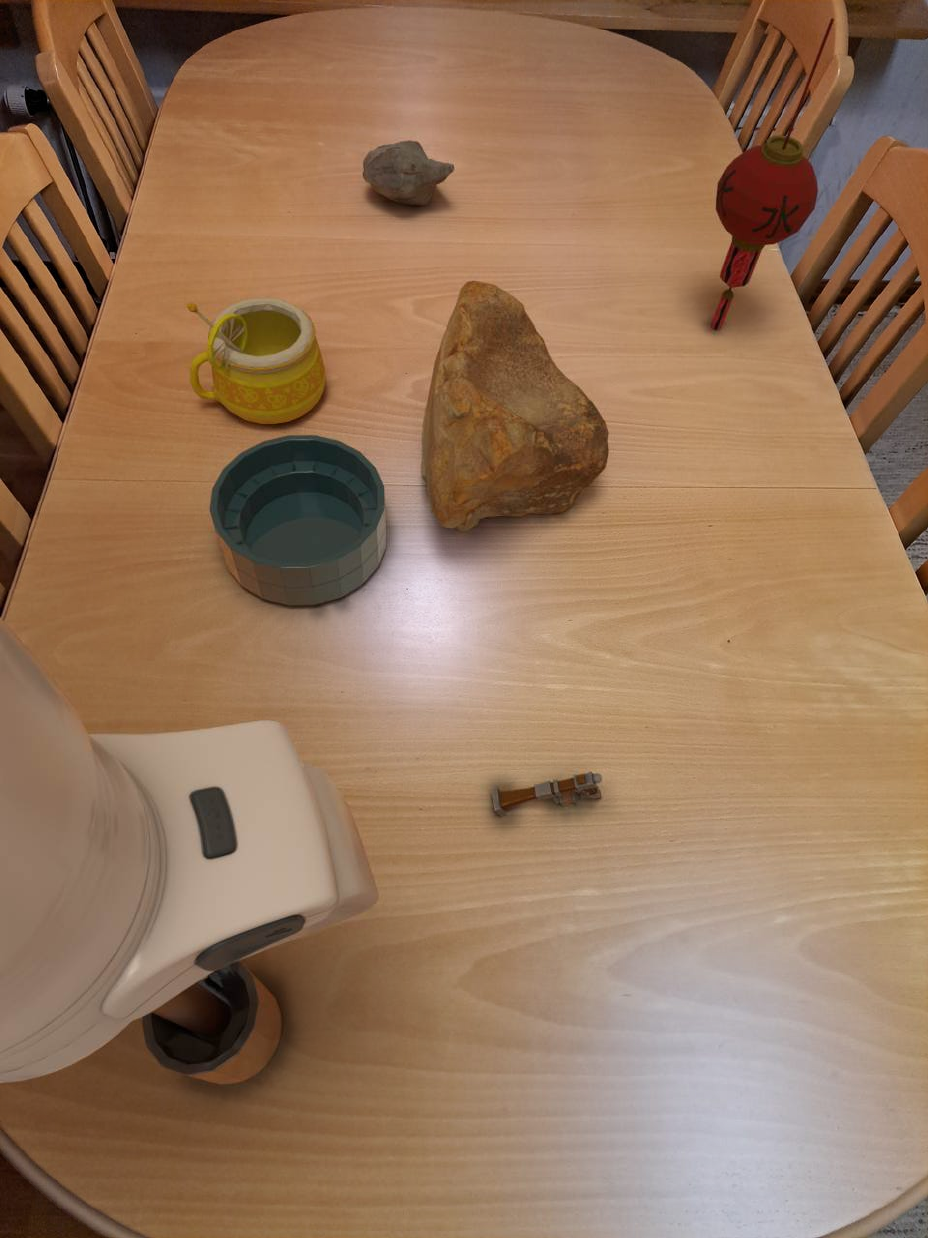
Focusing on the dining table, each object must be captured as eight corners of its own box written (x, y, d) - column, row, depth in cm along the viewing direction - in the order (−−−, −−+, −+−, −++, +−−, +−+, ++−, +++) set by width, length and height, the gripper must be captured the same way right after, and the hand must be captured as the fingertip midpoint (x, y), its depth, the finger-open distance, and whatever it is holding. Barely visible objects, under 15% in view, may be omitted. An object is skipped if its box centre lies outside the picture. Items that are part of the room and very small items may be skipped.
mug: (308, 346, 87) (295, 241, 77) (341, 417, 82) (331, 315, 71) (186, 373, 84) (155, 268, 73) (212, 449, 78) (182, 347, 68)
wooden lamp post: (614, 804, 61) (601, 785, 57) (512, 826, 63) (493, 809, 59) (610, 780, 62) (596, 761, 58) (509, 803, 64) (490, 785, 60)
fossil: (456, 186, 104) (460, 120, 97) (449, 229, 99) (452, 162, 92) (368, 176, 104) (365, 109, 97) (356, 219, 99) (353, 151, 92)
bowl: (246, 629, 68) (233, 588, 63) (208, 503, 75) (193, 457, 70) (408, 582, 72) (408, 539, 67) (358, 465, 78) (354, 419, 73)
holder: (197, 1102, 51) (154, 1095, 42) (176, 999, 53) (132, 974, 45) (293, 1061, 52) (270, 1047, 44) (268, 964, 55) (242, 933, 46)
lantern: (680, 353, 89) (788, 43, 64) (668, 297, 94) (763, -11, 69) (766, 356, 90) (906, 50, 65) (749, 300, 95) (873, -5, 70)
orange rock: (591, 593, 73) (647, 476, 61) (405, 568, 72) (423, 443, 59) (585, 412, 86) (629, 285, 74) (427, 387, 85) (445, 254, 72)
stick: (199, 1043, 46) (93, 1000, 31) (191, 1007, 47) (85, 947, 32) (235, 1029, 47) (148, 979, 31) (226, 993, 47) (138, 927, 32)
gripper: (-428, 1193, 20) (-114, 1170, 31) (388, 881, 25) (396, 962, 36) (-395, 933, 23) (-120, 1001, 34) (326, 701, 27) (352, 830, 39)
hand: (149, 979), depth 35 cm, fingers closed on stick, 2 cm apart
